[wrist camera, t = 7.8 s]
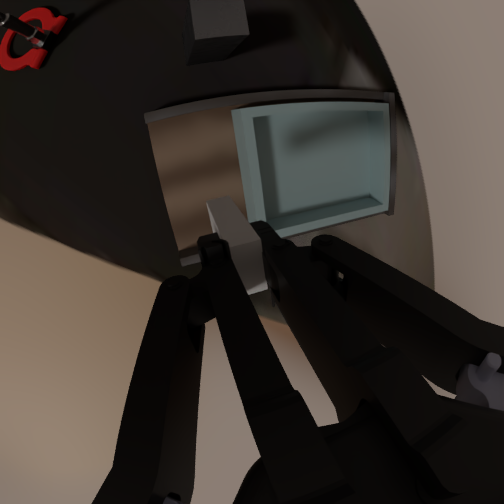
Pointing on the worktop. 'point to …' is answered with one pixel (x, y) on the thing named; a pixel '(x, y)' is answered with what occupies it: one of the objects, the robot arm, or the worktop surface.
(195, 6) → the dark grey block
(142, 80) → the worktop surface
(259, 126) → the crate
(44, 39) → the tow hook
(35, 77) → the worktop surface
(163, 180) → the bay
